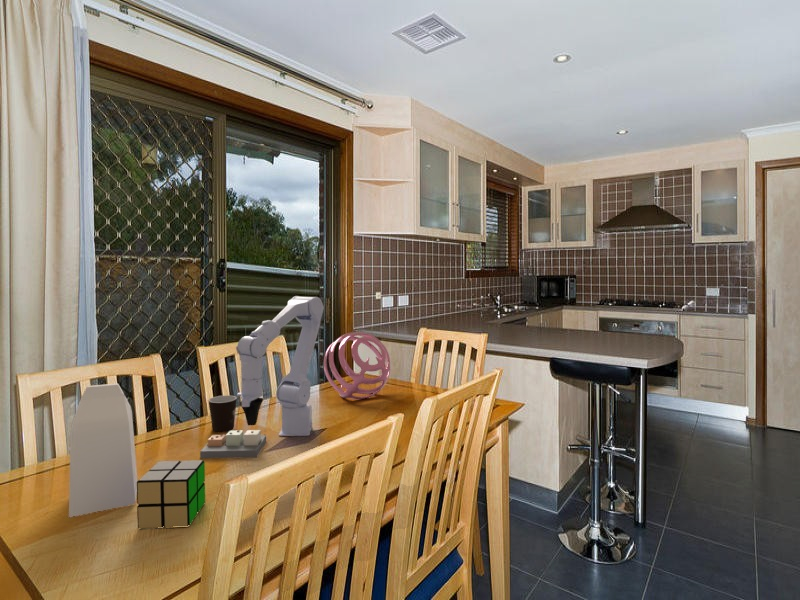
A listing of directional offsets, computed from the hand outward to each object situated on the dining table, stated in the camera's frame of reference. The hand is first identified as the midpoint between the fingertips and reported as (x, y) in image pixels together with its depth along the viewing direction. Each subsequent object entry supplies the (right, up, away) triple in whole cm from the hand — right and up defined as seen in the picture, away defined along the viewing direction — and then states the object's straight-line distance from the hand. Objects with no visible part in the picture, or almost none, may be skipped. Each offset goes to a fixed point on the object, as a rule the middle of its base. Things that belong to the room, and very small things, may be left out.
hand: (252, 424), depth 132 cm
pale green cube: (-5, -6, 0) cm, 8 cm away
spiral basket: (+26, -4, +57) cm, 63 cm away
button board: (-5, -7, 0) cm, 9 cm away
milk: (-23, -9, -29) cm, 39 cm away
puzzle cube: (-5, -10, -36) cm, 37 cm away
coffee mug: (-15, -6, +19) cm, 24 cm away
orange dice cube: (-10, -7, 0) cm, 12 cm away
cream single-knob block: (0, -6, 0) cm, 6 cm away
